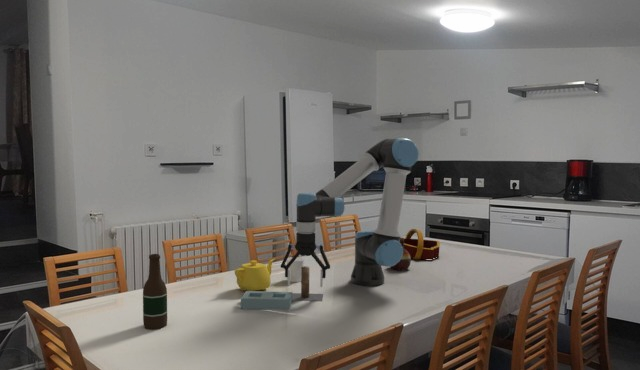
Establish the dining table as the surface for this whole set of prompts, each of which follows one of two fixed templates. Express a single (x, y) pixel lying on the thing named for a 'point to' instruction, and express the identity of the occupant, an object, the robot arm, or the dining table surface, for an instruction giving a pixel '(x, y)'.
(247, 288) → the teapot
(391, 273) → the dining table surface
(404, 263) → the vase
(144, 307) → the beer bottle
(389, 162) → the robot arm
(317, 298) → the mat
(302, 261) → the white cup
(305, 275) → the peg
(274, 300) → the hole block
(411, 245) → the decorative basket
